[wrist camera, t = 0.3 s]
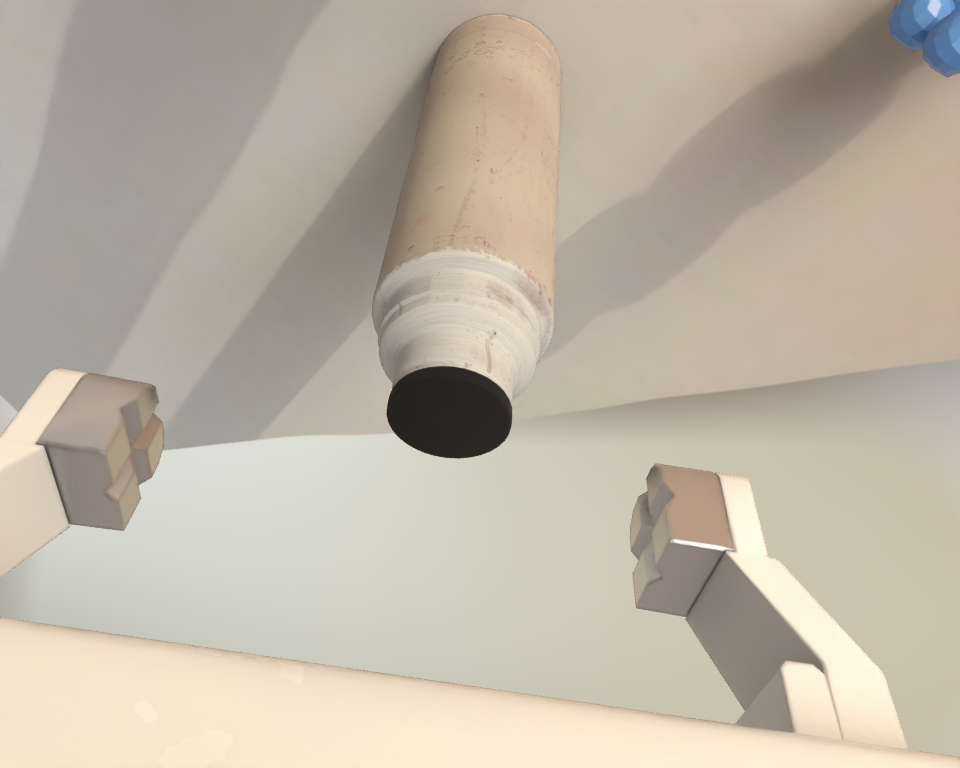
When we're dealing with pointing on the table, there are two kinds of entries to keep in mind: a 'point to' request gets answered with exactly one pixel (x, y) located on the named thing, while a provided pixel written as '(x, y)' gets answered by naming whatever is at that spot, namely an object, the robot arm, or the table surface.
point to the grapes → (930, 31)
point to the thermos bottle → (473, 241)
